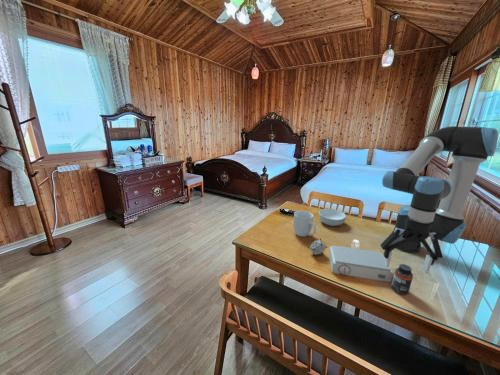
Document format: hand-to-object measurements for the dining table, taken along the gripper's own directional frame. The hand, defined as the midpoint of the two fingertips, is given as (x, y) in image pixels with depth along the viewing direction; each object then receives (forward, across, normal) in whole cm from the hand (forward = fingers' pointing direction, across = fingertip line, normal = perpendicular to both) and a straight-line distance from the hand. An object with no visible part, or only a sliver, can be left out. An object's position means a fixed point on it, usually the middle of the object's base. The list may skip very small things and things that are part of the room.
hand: (405, 268), depth 86 cm
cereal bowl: (+11, +21, -56) cm, 61 cm away
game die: (+11, +32, -17) cm, 38 cm away
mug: (+11, +39, -35) cm, 54 cm away
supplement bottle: (+11, 0, 0) cm, 11 cm away
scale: (+11, +14, -11) cm, 21 cm away
